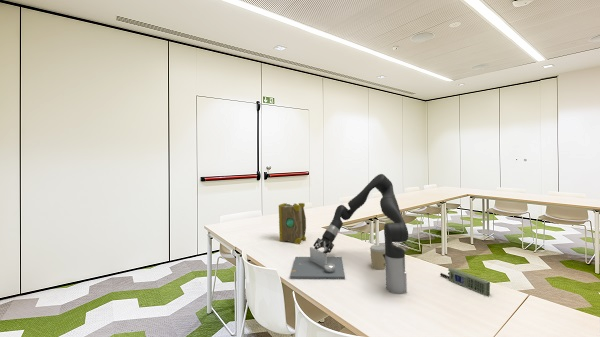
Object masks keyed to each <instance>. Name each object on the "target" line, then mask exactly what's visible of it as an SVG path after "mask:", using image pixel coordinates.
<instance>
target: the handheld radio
mask: <svg viewBox="0 0 600 337" xmlns="http://www.w3.org/2000/svg"><path fill="white" fill-rule="evenodd" d="M447 268H448V270H447V271H448V273H447V274H444V273H442V272H440V273H439V274H440V276H441V277H443V278H447V279H448V280H449V282H451V283H455V284H457V285H459V286H462V287H464V288H466V289H469V290H471V291H473V292H476V293H478V294H481V295H483V296H484V297H485V296H486V297H489V296H490V295H491V294H490V292H491V291H490V289H491V288H490V286H491V282H490V281H489V280H485V279H483V278H480V277H479V276H478V277H477V276H475V275H473V274H469V273H466V272H465V271H464V272H463V271H461V270H458V269H455V268H453V267H447Z"/></svg>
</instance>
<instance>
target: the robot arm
mask: <svg viewBox="0 0 600 337" xmlns="http://www.w3.org/2000/svg"><path fill="white" fill-rule="evenodd" d="M374 189H376V190H377V191H378V192H380V194H381V196H382V197H381V198H380V201H379V205H380V210H381V212H382V214H383V216H385V217H386V218H388V219H389V220H391V221H392V222H386V223H385V224H384V227H383V234H384V247H385V269H384V270H385V290H386V291H387V292H389V293H392V294H399V295H401V294H404V293H407V292H408V291H407V284H408V282H407V279H408V278H407V271H406V251H405V250H404V249H403V248H401V247H399V246H396V245H394V244H393V243H404V242H407V241H408V239H409V230H408V227H407V224H406V222H405V220H404V217H403V216H402V214H401V209H400V206H399V204H398V201H397V198H396V195H395V191H394V185H393V183H392V181H391V180H390V179H389V178H388V177H387V176H386V175H385V174H383V173H379V174H377V175H375V176H374V178H372V179H371V181H369V183H367V185H366V186H365V187H364V188H363V189H362V190H361V191H360V192H359V193H358V194H357V195H356V196H354V197H353V198H351V199H350V200H349V201H348V203H347V205H348V207H349V209H348V207H346V206H345V205H344V204H339V205H338V206H337V207H336V209H335V212H334V216H333V218H332V220H331V222H330V224H329V225H327V226H328V227H327V228H326V229H325V231H324V232H323V234H322V238H319V237H318V238H317V239H316V240H315V242H314V243H313V244H312V245H313V246H312V247H313V248H315V249H317V250H319V249H321V248H323V251H322V252H323V253H326V254H327V255H328V254H331V252H332V251H333V249H334V247H335V244H334V243H333V242H334V241H335V239H336V238H337V236H338V234H339V232H340V230H341V228H342V227H343V225H344V223H343V221H348V220H350V219H351V218H352V216H353V215H354V214H355V212H356V211H357V210H358V209H359V208H361V207H362V206H364V204H365V203H366V202H367V199H368V196H369V195H370V193H371V191H372V190H374Z"/></svg>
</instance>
